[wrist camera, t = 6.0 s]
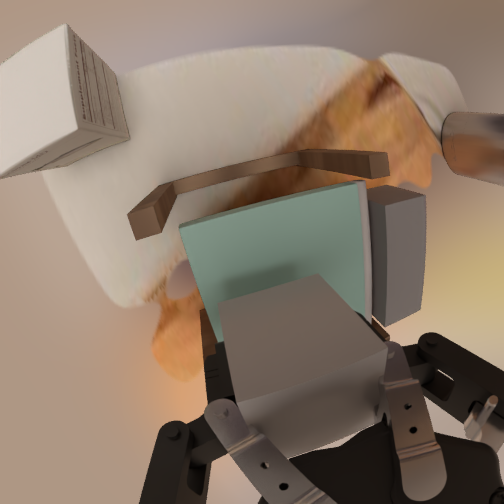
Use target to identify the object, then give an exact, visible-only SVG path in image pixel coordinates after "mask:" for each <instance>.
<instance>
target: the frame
mask: <svg viewBox="0 0 504 504" xmlns="http://www.w3.org/2000/svg"><path fill="white" fill-rule="evenodd" d="M294 165H297V166H303V167H309V168H315V169H321V170H327V171H333V172H338V173H343V174H348V175H353V176H358V177H363V178H368V179H376V178H381V177H386V176H390V171H389V162H388V155H387V152H373V151H356V150H327V149H307V150H301V151H296V152H290V153H285V154H280V155H275V156H271V157H266V158H261V159H257V160H252V161H248V162H244V163H239V164H235V165H231V166H227V167H223V168H219V169H215V170H212V171H208V172H204V173H200V174H197V175H193V176H190V177H186V178H183V179H179V180H176V181H173V182H169V183H166V184H163V185H159V186H158V187H157V188H156V189H154V190H153V191H152V192H151V193H150V194H149V195H148V196H147V197H145V198H144V199H143V200H142V201H141V202H140V203H139V204H138V205H137V206H135V207H134V208H133V209H132V210H131V211H130V212H129V213H128V214H127V216H128V219H129V222H130V225H131V228H132V231H133V234H134V236H135V239H136V240H139V239H143V238H146V237H149V236H152V235H155V234H159V233H162V230H163V228H164V226H165V223H166V221H167V218H168V216H169V214H170V211H171V209H172V207H173V204H174V202H175V200H176V197H177V195H178V194H182V193H185V192H189V191H192V190H196V189H199V188H203V187H206V186H210V185H214V184H218V183H221V182H225V181H229V180H233V179H237V178H241V177H245V176H249V175H253V174H258V173H262V172H266V171H271V170H275V169H280V168H284V167H289V166H294ZM200 321H201V335H202V348H203V359H204V362H205V360H206V357H207V356H209V355H213V354H216V350H215V343H218V341H217V338H216V336H215V333H214V330H213V328H212V325H211V322H210V320H209V317H208V314H207V311H206V309H203V310H200ZM371 325H372V326H373V327H374V328H375V329H376V330H377V331H378V332H379V333H380V334H381V335H382V336H383V337H384V338H385V339H386V340H387V341H389V340H390V335H389V334H388V333H387V332H386V331H385V330H384V329H383V328H382V327H381V326H380V325H379V324H378V323H377V322H376V321H375V320H374V319H373V318H372V322H371Z"/></svg>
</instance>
